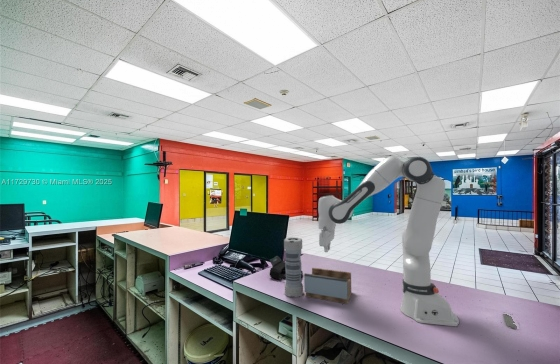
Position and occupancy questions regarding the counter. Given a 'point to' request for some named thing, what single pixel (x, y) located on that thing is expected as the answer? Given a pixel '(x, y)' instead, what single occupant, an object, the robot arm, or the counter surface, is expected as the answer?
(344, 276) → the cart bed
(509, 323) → the stone tool
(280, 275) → the virtual reality headset
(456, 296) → the counter surface
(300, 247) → the canister
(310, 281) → the panel
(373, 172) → the robot arm
